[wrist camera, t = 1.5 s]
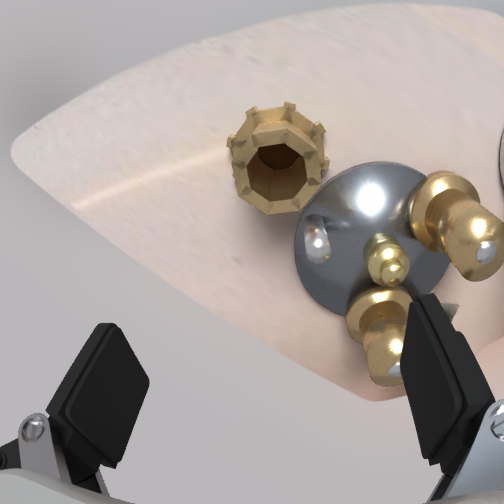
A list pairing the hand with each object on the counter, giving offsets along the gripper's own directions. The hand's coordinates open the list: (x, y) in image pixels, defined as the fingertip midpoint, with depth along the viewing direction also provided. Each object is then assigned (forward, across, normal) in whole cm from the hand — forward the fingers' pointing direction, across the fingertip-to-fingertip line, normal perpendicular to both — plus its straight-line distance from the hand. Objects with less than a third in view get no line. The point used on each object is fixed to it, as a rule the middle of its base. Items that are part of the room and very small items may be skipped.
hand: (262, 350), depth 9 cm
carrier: (+19, -10, +9) cm, 23 cm away
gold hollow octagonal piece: (+19, -1, -2) cm, 19 cm away
